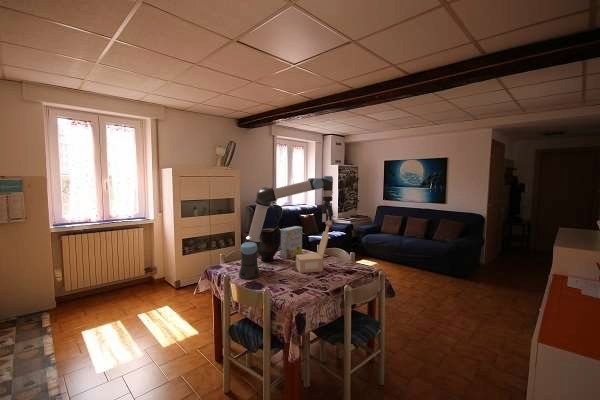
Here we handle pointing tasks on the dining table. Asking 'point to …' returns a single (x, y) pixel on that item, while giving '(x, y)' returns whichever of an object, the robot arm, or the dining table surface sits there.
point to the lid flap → (324, 240)
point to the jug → (268, 244)
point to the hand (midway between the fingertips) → (326, 223)
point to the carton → (309, 262)
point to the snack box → (291, 242)
